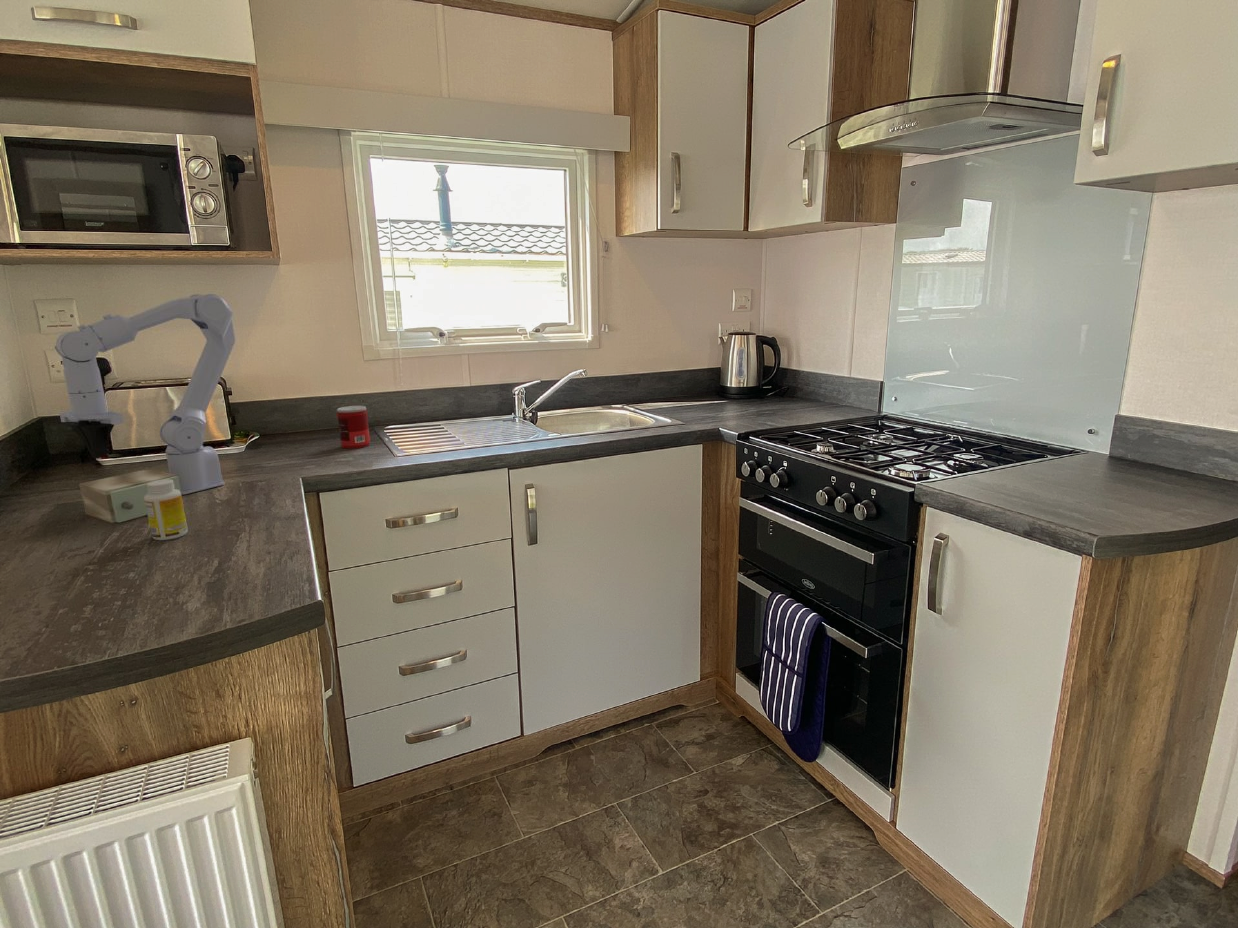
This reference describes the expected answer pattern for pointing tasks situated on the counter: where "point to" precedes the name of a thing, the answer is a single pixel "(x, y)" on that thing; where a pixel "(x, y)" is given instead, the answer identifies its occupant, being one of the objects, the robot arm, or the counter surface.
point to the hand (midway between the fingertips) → (99, 457)
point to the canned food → (353, 427)
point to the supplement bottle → (165, 510)
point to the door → (133, 501)
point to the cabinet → (99, 490)
